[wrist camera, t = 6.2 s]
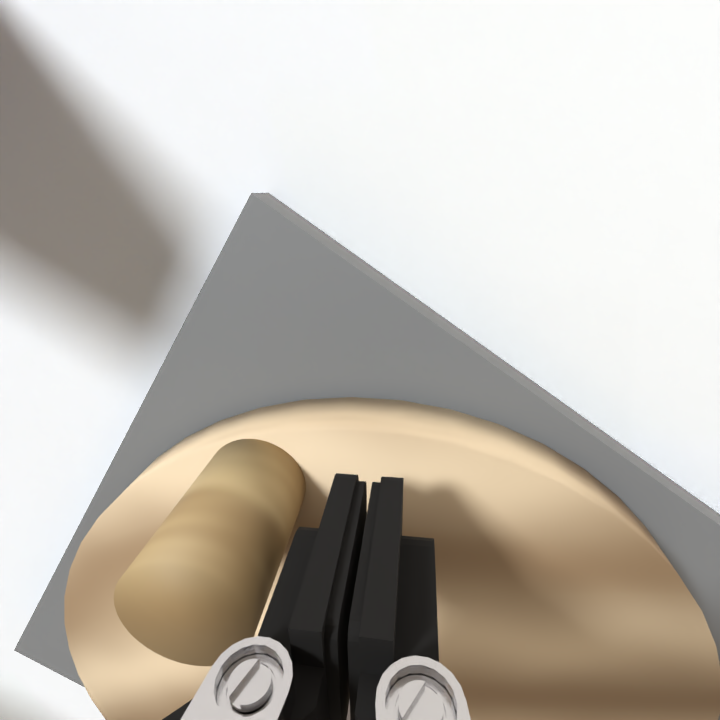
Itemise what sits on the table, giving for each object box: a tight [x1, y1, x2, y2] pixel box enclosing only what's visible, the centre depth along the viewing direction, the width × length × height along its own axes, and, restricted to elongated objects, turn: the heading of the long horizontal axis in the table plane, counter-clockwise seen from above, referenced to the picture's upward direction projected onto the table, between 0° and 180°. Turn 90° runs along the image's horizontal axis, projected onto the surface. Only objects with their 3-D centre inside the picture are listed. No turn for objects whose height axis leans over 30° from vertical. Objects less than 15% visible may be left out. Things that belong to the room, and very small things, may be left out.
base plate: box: [15, 193, 720, 720], centre depth 19 cm, size 26×26×2 cm
